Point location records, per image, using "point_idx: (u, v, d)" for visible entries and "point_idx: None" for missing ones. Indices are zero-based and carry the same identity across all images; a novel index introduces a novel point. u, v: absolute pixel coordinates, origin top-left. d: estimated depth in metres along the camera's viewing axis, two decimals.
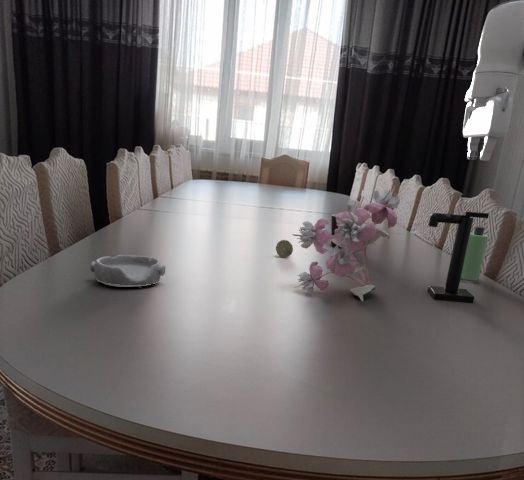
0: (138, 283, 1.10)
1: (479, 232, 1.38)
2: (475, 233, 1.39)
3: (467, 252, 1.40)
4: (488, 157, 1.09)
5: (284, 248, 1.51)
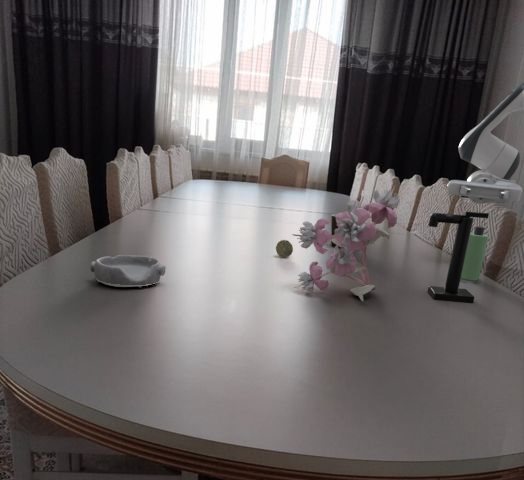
0: (138, 283, 1.10)
1: (479, 232, 1.38)
2: (475, 233, 1.39)
3: (467, 252, 1.40)
4: (465, 189, 1.47)
5: (284, 248, 1.51)
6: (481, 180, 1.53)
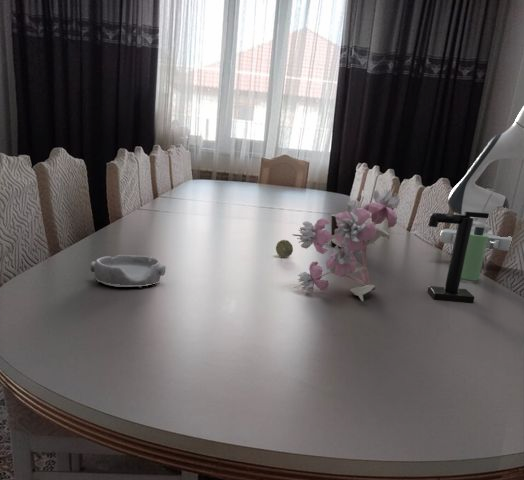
0: (138, 283, 1.10)
1: (479, 232, 1.38)
2: (475, 233, 1.39)
3: (467, 252, 1.40)
4: None
5: (284, 248, 1.51)
6: (473, 229, 1.58)
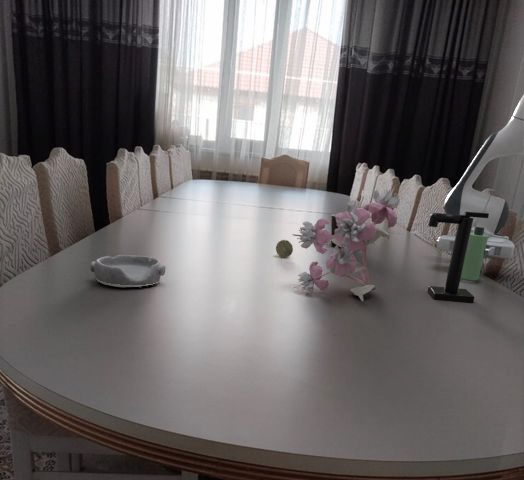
0: (138, 283, 1.10)
1: (479, 232, 1.38)
2: (475, 233, 1.39)
3: (467, 252, 1.40)
4: None
5: (284, 248, 1.51)
6: None
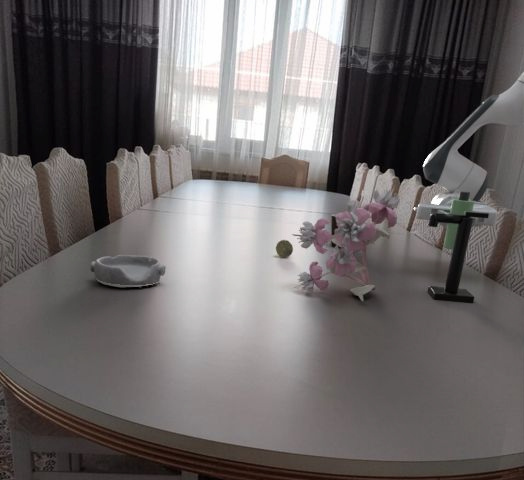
0: (138, 283, 1.10)
1: (465, 197, 1.28)
2: (461, 198, 1.29)
3: None
4: None
5: (284, 248, 1.51)
6: (451, 203, 1.39)
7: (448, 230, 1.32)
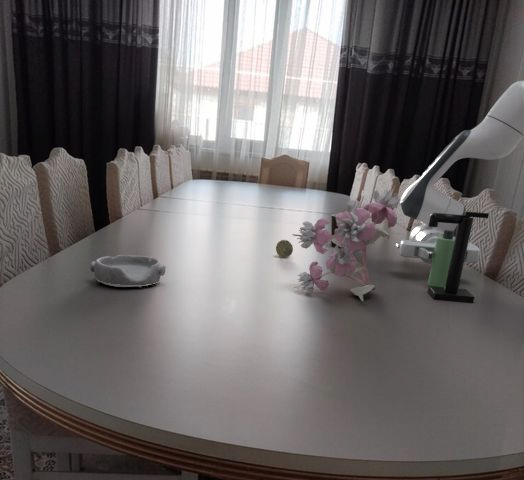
0: (138, 283, 1.10)
1: (450, 236, 1.27)
2: (445, 237, 1.28)
3: (438, 258, 1.29)
4: (426, 253, 1.30)
5: (284, 248, 1.51)
6: (433, 239, 1.38)
7: (433, 268, 1.31)
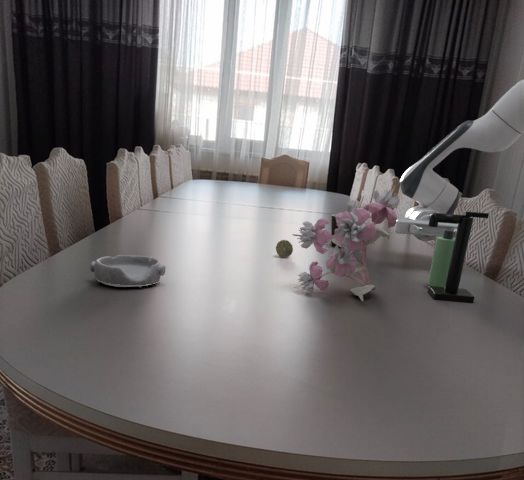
0: (138, 283, 1.10)
1: (450, 236, 1.27)
2: (445, 237, 1.28)
3: (438, 258, 1.29)
4: (416, 228, 1.41)
5: (284, 248, 1.51)
6: (426, 217, 1.49)
7: (433, 268, 1.31)
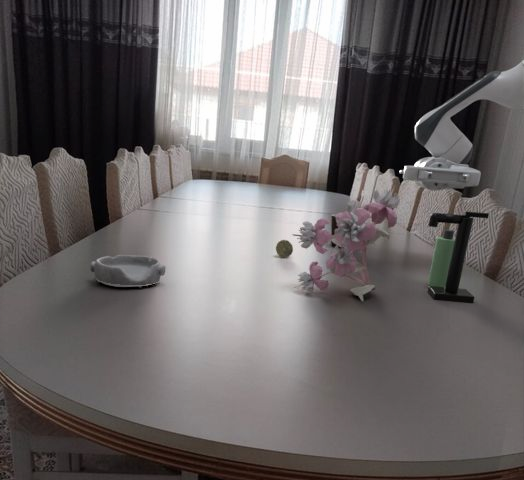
0: (138, 283, 1.10)
1: (450, 236, 1.27)
2: (445, 237, 1.28)
3: (438, 258, 1.29)
4: (426, 173, 1.35)
5: (284, 248, 1.51)
6: (436, 165, 1.44)
7: (433, 268, 1.31)
